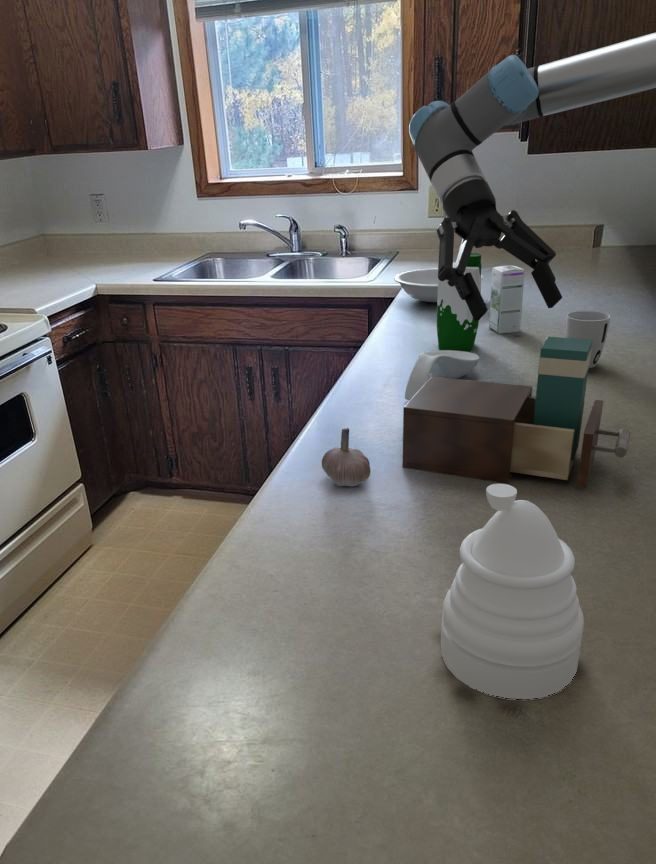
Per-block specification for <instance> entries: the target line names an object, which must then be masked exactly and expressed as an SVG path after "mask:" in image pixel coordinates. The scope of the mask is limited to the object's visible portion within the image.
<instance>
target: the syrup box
mask: <svg viewBox="0 0 656 864" xmlns="http://www.w3.org/2000/svg"><path fill="white" fill-rule="evenodd" d="M491 271H492V272H491V285H490V304H489V320H488V321H489V323H488V328H489V329H490V330H492V331H493V332H495V333H497V334H511V333H520V332H521V326H522V325H521V324H522V313H523V312H522V311H523V299H524V286H525V285H524V283H525V271H526V270H525V269H524V268H522V267H519V266H516V265H499V266H494V267H492V270H491Z"/></svg>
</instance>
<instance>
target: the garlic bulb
mask: <svg viewBox="0 0 656 864" xmlns="http://www.w3.org/2000/svg"><path fill="white" fill-rule="evenodd" d="M340 434H341V435H340V438H341V440H340V447H333V448H331V449H329V450H327V451H326V452H325V453H324V454H323V456H322V459H321V468H322V470H323V471H324V473H325V474H326V475H327V476H328V477H329V478H330V479H331V480H332V482H333V484H335V485H336V486H338V487H357V486H359V485H360V484H361V483H364V482H365V481H367V480H368V479H370V476H371V465H370V461H369V460H370V459H369V458H368V457H367V456H366V455H365V454H364V453H363V451H362V450H360V449H359V448H358V449H357V448H352V447H349V445H350V428H349V427H346V428H342V429H341V433H340Z"/></svg>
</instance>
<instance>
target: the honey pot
mask: <svg viewBox="0 0 656 864" xmlns="http://www.w3.org/2000/svg"><path fill="white" fill-rule="evenodd" d="M485 493H486V495H485V496H486V499H487V502H488V504H489V506H490V507H491V508H492V509H494V510H495V511H496V512H495V513H494V514H493V515H492V516H491V517H490V519H489V520H488V521H487V522H486V523H485V525H484V526H483V527H482V528H479V529H476V530H474V531H473V532H471V533H469V534H468V535H467V536H466V537H465V538H464V539H463V540H462V542H461V545H460V547H459V557H460V560H461V562H462V563H461V564H460V565H459V566H458V568H457V570H456V573H455V577H454V578H453V581H452V584H451V587H450V588H448V590H447V593H446V595H445V597H444V599H443V603H442V614H441V615H442V618H441V629H440V631H441V632H440V633H441V634H440V652H441V653H440V654H441V658H442V657H443V658H442V660H443V662H444V664H445V666H446V668H447V669H448V670H449V672H450V673H451V674H452V675H453V676H454V677H455V678H456V679H457V680H458V681H460V682H461V683H463V684H464V685H466V686H467V687H468V688H469V689H472V690H475V691H477V692H480V693H482V694H484V695H486V696H489V697H495V698H499V699H503V700H507V701H517V700H516V699H519V698H522V699H530V698H538V697H542V696H543V697H544V696H547V697H545V698H544V699H546V698H549V697H551V696H553V695H556V694H559V693H561V692H562V691H563V690H564V689H566V688H567V687H568V686H571V684H572V682H573V680H574V679H575V677H576V675H577V673H576V672H578V666H579V660H580V654H581V647H582V640H583V633H584V625H585V620H584V619H585V618H584V614H583V611H582V608H581V605H580V600H579V597H578V594H577V590H578V588H577V584H576V581H575V579H574V577H573V576H572V572H574V569H575V564H576V559H575V556H574V552H573V550H572V548H570V546H568V544H567V543H566V542H565V541H563V540H562V539H560V538H559V536H558V533H557V532H556V530H555V528H554V526H553V524H552V523H551V521H550V519H549V518H548V517H547V515H546V514H545V513H544V512H543V510H541V508H540V507H538V506H537V505H536V504H534V503H533V502H531V501H529V500H526V499H525V500H523V499H519V500H516V498H517V495H518V489H517V488H515V486H512V485H510V484H508V483H492V484H490V485H488V486H487V487H486V490H485ZM575 674H576V675H575ZM574 676H575V677H574ZM573 677H574V678H573ZM572 679H573V680H572ZM571 681H572V682H571ZM570 682H571V683H570ZM569 683H570V684H569ZM568 684H569V685H568ZM468 685H469V686H468ZM567 685H568V686H567ZM565 686H567V687H565ZM564 687H565V688H564ZM563 688H564V689H563ZM476 689H477V690H476ZM561 689H563V690H561ZM560 690H561V691H560ZM558 691H560V692H558ZM483 692H484V693H483ZM555 692H558V693H555ZM486 693H487V694H486ZM553 693H555V694H553ZM488 694H489V695H488ZM550 694H553V695H550ZM492 695H494V696H492ZM548 695H550V696H548ZM496 696H500V697H496ZM501 697H504V698H501ZM505 698H516V699H505ZM540 699H543V698H538V699H537V700H540ZM533 700H535V699H530V700H529V701H533ZM524 701H528V700H524Z"/></svg>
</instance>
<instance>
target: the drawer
mask: <svg viewBox="0 0 656 864" xmlns="http://www.w3.org/2000/svg"><path fill="white" fill-rule="evenodd" d="M535 400H536V395H532V396H529V397H528V399H527V401H526V403H525V405H524V407H523V408H522V410H521V412H520V414H519V416H518V418H517V419H516V421H515V423H514V433H513V444H512V455H511V466H510V472H513V473H515V474H522V475H530V476H537V477H544V478H549V479H550V478H551V479H557V480H564V481H568V480H569V477H570V475H571V471H572V467H573V466H574V462H575V459H576V456H577V453H578V450H579V446H580V442H579V443H578V447H577V450H576V453H575V456H574V459H573V461H572V460H571V454H572V446H573V439H574V431H575V430H574V429H566V428H558V427H549V426H541V425H533V419H534V409H535ZM603 407H604V400H602V399H601V400H600V399H594V401H593V404H592V407H591V410H590V413H589V416H588V420H587V422H586V425H585V429H584V432H583V437H582V445H581V451H580V460H579V466H578V474H577V480H576V486H577V487H582V488H587V486H588V482H589V478H590V474H591V472H592V466H593V463H594V459H595V456H596V452H605V453H612V454H614V455H615V456H616V457H618V458H624V457H625V456H626V455H627V453H628V448H629V447H628V446H629V443H630V435H631V431H630V430H629V429H628V428H621V429H619V430H618V431H617V430H609V429H602V428H600V427H601V422H602V413H603ZM584 409H585V405H584V406H583V411H585V410H584ZM583 416H584V412H583V413H582V418H583ZM582 423H583V420H582V421H581V425H582ZM581 430H582V427H581V428H580V433H581V432H582V431H581ZM599 435H602V436H610V437H617V439H616V443H615V446H606V445H598V441H599ZM580 438H581V435H580V436H579V440H581V439H580Z"/></svg>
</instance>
